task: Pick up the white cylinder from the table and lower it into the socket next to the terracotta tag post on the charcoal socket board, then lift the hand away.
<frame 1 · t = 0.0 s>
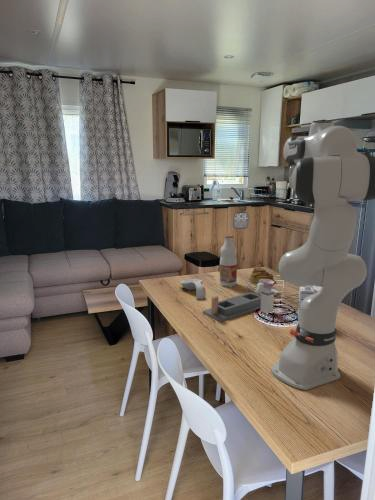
hand: (314, 198, 144), 52 cm above the table, tool tilted 20°, fingers open, 8 cm apart
socket board: (238, 308, 170), on the table
syrup box: (304, 321, 156), on the table
teacup: (266, 292, 191), on the table
white cylinder: (266, 312, 165), on the table
fruit juice: (227, 284, 204), on the table
pastry: (260, 281, 209), on the table
handheld barcode scanner: (194, 292, 193), on the table
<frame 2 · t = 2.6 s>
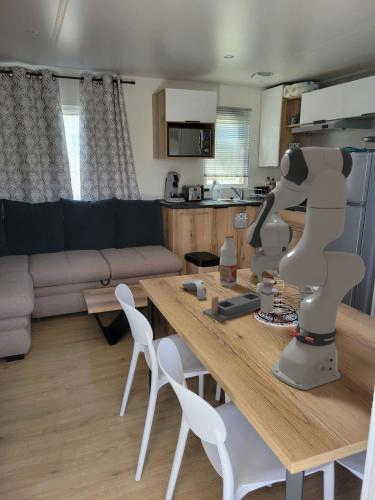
hand: (268, 279, 162), 16 cm above the table, tool pointing down, fingers open, 8 cm apart
teacup: (266, 292, 192), on the table
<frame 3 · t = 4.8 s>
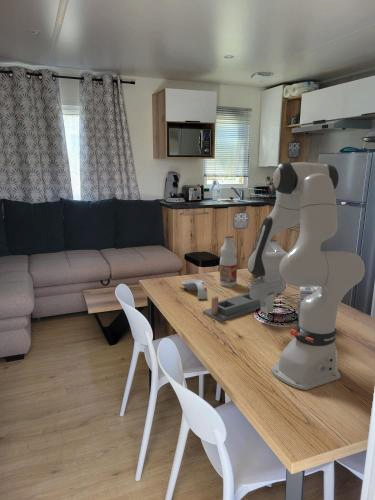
hand: (267, 304, 164), 4 cm above the table, tool pointing down, fingers closed on white cylinder, 4 cm apart
white cylinder: (266, 312, 165), on the table, touching gripper
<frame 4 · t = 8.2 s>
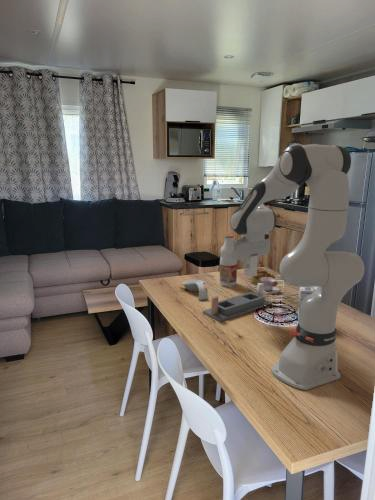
hand: (250, 266, 160), 21 cm above the table, tool pointing down, fingers closed on white cylinder, 4 cm apart
teacup: (267, 290, 194), on the table
white cylinder: (250, 274, 161), point 18 cm above the table, touching gripper
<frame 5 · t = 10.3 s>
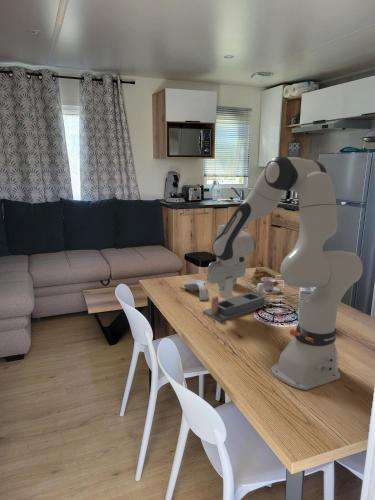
hand: (226, 289, 163), 11 cm above the table, tool pointing down, fingers closed on white cylinder, 4 cm apart
white cylinder: (225, 296, 163), point 8 cm above the table, touching gripper
when the fingers open (6 cm above the table, at t = 11.8 s): white cylinder drops 1 cm, resting on socket board.
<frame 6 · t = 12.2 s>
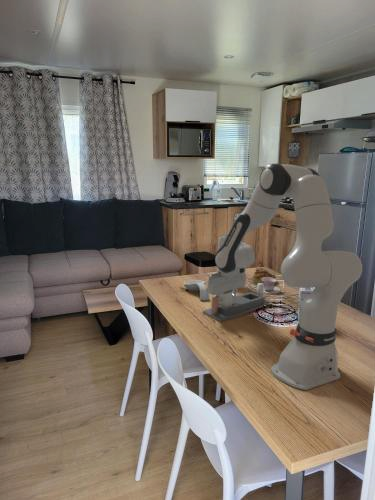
hand: (226, 299, 164), 6 cm above the table, tool pointing down, fingers open, 7 cm apart
white cylinder: (225, 310, 165), point 1 cm above the table, touching socket board
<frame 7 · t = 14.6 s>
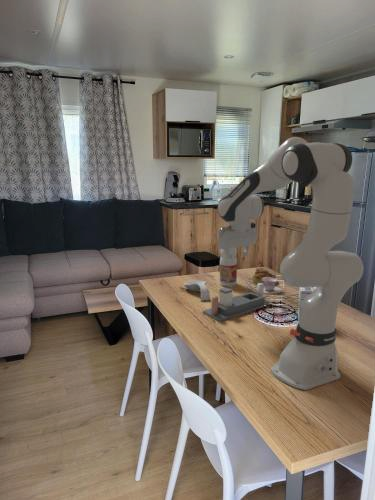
hand: (237, 257, 156), 27 cm above the table, tool pointing down, fingers open, 8 cm apart
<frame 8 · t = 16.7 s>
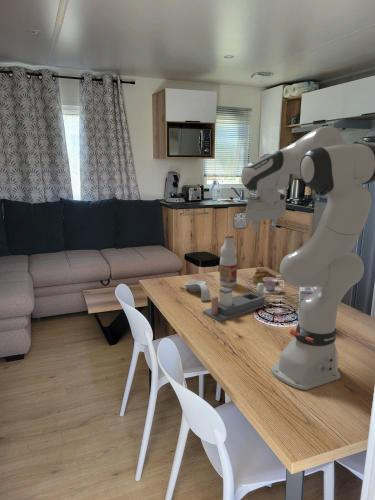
hand: (264, 230, 148), 39 cm above the table, tool pointing down, fingers open, 8 cm apart
at the end: white cylinder 0.0 cm from the target spot on the socket board, point 1.0 cm above the socket board's base; white cylinder tilted 0°; the gripper is holding nothing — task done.
